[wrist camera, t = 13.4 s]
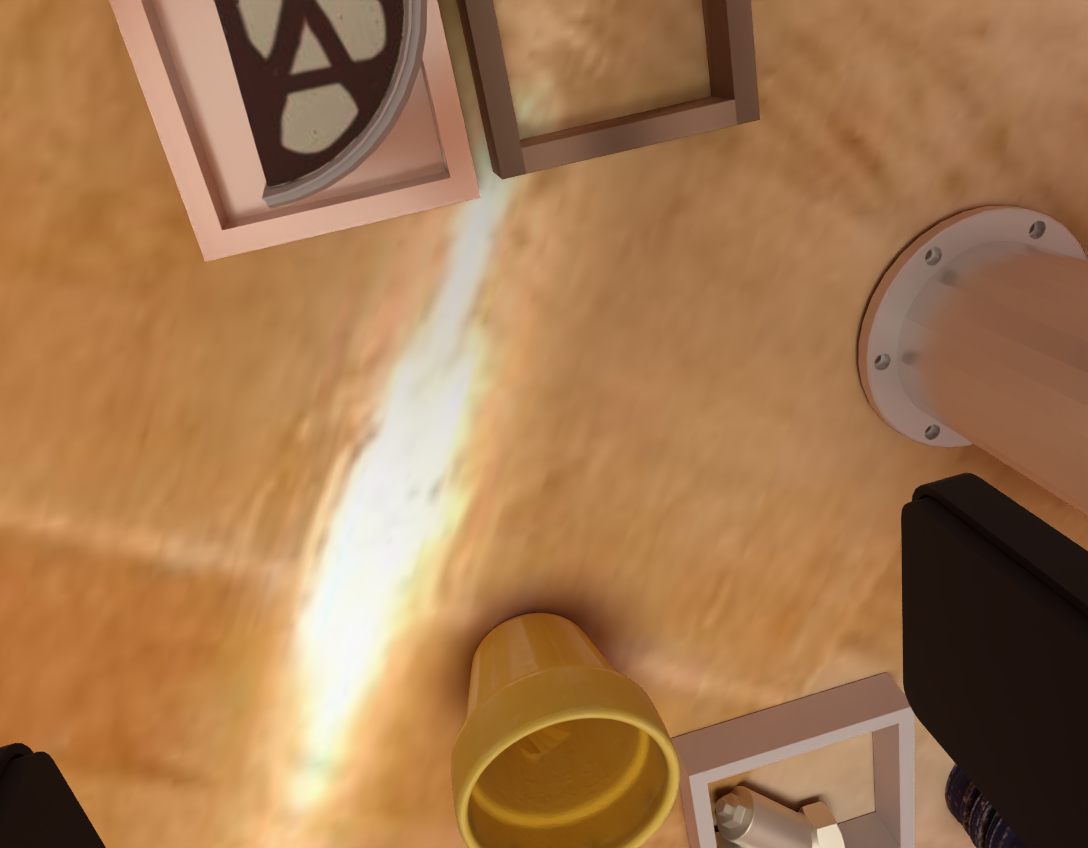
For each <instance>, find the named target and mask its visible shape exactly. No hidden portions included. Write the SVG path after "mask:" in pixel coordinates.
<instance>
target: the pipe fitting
mask: <svg viewBox="0 0 1088 848" xmlns="http://www.w3.org/2000/svg"><path fill="white" fill-rule="evenodd" d="M715 809H716V815H717V827H718V830H719V832H716V833H715V838H716V845H717V848H845V845H844V840H843V837H842V834H841V831H840V829H839V826H838V824H837V822H836V820H835V818H834V816H833V814H832V813H831V811H830V810H829V808H828V807H827V806H826V805H825V804H824V803H823V802H822V801H820V802H816V803H813V804H810V805H806V806H803V807H802V808H800V809H799V811H798V812H795V811H793V810H791V809H789V808H787V807H785V806H783V805H781V804H779V803H777V802H775V801H773V800H771V799H769V798H767V797H764V796H762V795H760V794H758V793H756V792H754V791H752V790H750V789H748V788H746V787H744V786H735V787H734V788H733V789H732V790H731V791H730V792H729V793H728V794H727V795H725V796H723V797H721V799H719V800H718V801H717V803H716V806H715Z"/></svg>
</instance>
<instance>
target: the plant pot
mask: <svg viewBox="0 0 1088 848" xmlns="http://www.w3.org/2000/svg"><path fill="white" fill-rule="evenodd" d="M451 778H452V790H453V799H454V807H455V814H456V820H457V824H458V828H459V831H460V834H461V836H462V838H463V840H464V842H465V844H466V845H467V847H468V848H639V847H640V846H641V845H643V844H644V843H645V842H646V841H647V840H648V839H649V838H650V837H651V836H652V835H653V834H654V833H655V832H656V831H657V830H658V829H659V827H660V826H661V825H662V823H663V822H664V820H665V819H666V817H667V816H668V814H669V812H670V810H671V808H672V806H673V804H674V802H675V800H676V797H677V793H678V789H679V783H680V765H679V760H678V756H677V753H676V750H675V748H674V745H673V743H672V741H671V739H670V736H669V734H668V732H667V730H666V728H665V725H664V723H663V721H662V719H661V718H660V716H659V714H658V712H657V710H656V708H655V706H654V705H653V703H652V701H651V700H650V698H649V697H648V695H647V694H646V693H645V691H644V690H643V689H642V688H641V687H640V686H639V685H637V684H636V683H635V682H634V681H632V680H631V679H629V678H628V677H626V676H624V675H622V674H620V673H618V672H616V671H615V670H614V669H613V668H612V666H611V665H610V664H609V663H608V662H607V660H606V659H605V658H604V657H603V655H602V654H601V653H600V652H599V650H598V649H597V648H596V647H595V645H594V644H593V643H592V642H591V640H590V639H589V638H588V637H587V635H586V634H585V633H584V632H583V631H582V630H581V629H580V628H579V627H578V626H577V625H576V624H574V623H573V622H572V621H570V620H568V619H566V618H564V617H561V616H558V615H554V614H549V613H530V614H524V615H520V616H517V617H514V618H512V619H509V620H507V621H505V622H503V623H501V624H500V625H498V626H497V627H495V628H494V629H493V630H492V631H491V632H490V633H488V634H487V636H486V637H485V638H484V639H483V640H482V642H481V643H480V645H479V646H478V648H477V650H476V652H475V654H474V657H473V662H472V668H471V678H470V688H469V696H468V706H467V714H466V721H465V723H464V724H463V726H462V727H461V729H460V731H459V733H458V735H457V738H456V740H455V743H454V746H453V750H452V756H451Z"/></svg>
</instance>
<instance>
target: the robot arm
mask: <svg viewBox="0 0 1088 848" xmlns="http://www.w3.org/2000/svg"><path fill="white" fill-rule="evenodd" d="M858 366H859V372H860V377H861V382H862V387H863V389H864V391H865V394H866V396H867V398H868V401H869V403H870V405H871V406H872V407H873V409H874V410H875V411H876V413H877V414H878V415H879V417H880V418H881V419H882V420H883V421H885V422H886V423H887V424H888V425H890V426H891V427H892V428H893V429H894V430H896V431H898V432H899V433H901V434H902V435H904V436H906V437H907V438H909V439H910V440H912V441H915V442H918V443H920V444H923V445H927V446H933V447H943V448H953V447H963V446H970V445H973V444H975V445H976V446H978V447H979V448H981V449H982V450H984V451H986V452H987V453H989V454H990V455H992V456H994V457H995V458H997V459H998V460H1000V461H1001V462H1003V463H1005V464H1006V465H1008V466H1009V467H1011V468H1012V469H1014V470H1016V471H1017V472H1019V473H1020V474H1022V475H1023V476H1025V477H1027V478H1028V479H1030V480H1031V481H1033V482H1034V483H1036V484H1038V485H1039V486H1041V487H1042V488H1044V489H1045V490H1047V491H1049V492H1050V493H1052V494H1053V495H1055V496H1057V497H1058V498H1060V499H1061V500H1063V501H1064V502H1066V503H1068V504H1069V505H1071V506H1072V507H1074V508H1075V509H1077V510H1079V511H1080V512H1082V513H1083V514H1085V515H1086V516H1088V259H1087V256H1086V254H1085V253H1084V251H1083V249H1082V247H1081V245H1080V243H1079V241H1078V240H1077V239H1076V238H1075V236H1074V235H1073V234H1072V233H1071V232H1070V231H1069V230H1068V229H1067V228H1066V226H1064V225H1063V224H1061V223H1059V222H1058V221H1056V220H1055V219H1053V218H1052V217H1050V216H1048V215H1045V214H1042V213H1039V212H1036V211H1033V210H1030V209H1025V208H1019V207H1014V206H1009V205H1003V206H984V207H980V208H976V209H972V210H968V211H964V212H962V213H960V214H957V215H955V216H953V217H951V218H949V219H946V220H944V221H942V222H940V223H939V224H937V225H936V226H934V227H933V228H931V229H930V230H928V231H927V232H925V233H924V234H923V235H921V236H920V237H919V238H917V239H916V240H915V241H914V242H913V243H912V244H911V245H910V246H909V247H908V248H907V249H906V250H905V251H904V252H903V253H902V254H901V255H900V256H899V257H898V258H897V260H896V261H895V262H894V263H893V265H892V266H891V267H890V269H889V270H888V271H887V272H886V274H885V275H884V277H883V278H882V280H881V282H880V284H879V286H878V287H877V289H876V291H875V293H874V294H873V296H872V298H871V301H870V304H869V306H868V309H867V312H866V314H865V317H864V320H863V324H862V329H861V334H860V339H859V356H858ZM901 532H902V617H903V685H904V691H905V695H906V698H907V700H908V703H909V705H910V707H911V709H912V711H913V712H914V714H915V715H916V717H917V718H918V719H919V720H920V722H921V723H922V724H923V725H924V726H925V728H926V729H927V730H928V731H929V732H930V733H931V735H932V736H933V737H934V738H935V739H936V741H937V742H938V743H939V744H940V745H941V746H942V748H943V749H944V750H945V751H946V752H947V754H948V755H949V756H950V757H951V758H952V759H953V761H954V762H955V763H956V764H957V765H958V767H959V768H960V769H961V770H962V771H963V773H964V774H965V775H966V776H967V777H968V778H969V780H970V781H971V782H972V783H973V784H974V786H975V787H976V788H977V789H978V790H979V791H980V793H981V794H982V795H983V796H984V797H985V799H986V800H987V801H988V802H989V803H990V804H991V806H992V807H993V808H994V809H995V810H996V812H997V813H998V814H999V815H1000V816H1001V817H1002V819H1003V820H1004V821H1005V822H1006V823H1007V825H1008V826H1009V827H1010V828H1011V829H1012V830H1013V832H1014V833H1015V834H1016V835H1017V836H1018V838H1019V839H1020V840H1021V841H1022V842H1023V844H1024V845H1025V846H1026V847H1027V848H1088V551H1086V550H1085V549H1083V548H1082V547H1081V546H1079V545H1078V544H1076V543H1075V542H1073V541H1072V540H1070V539H1069V538H1067V537H1066V536H1064V535H1063V534H1061V533H1060V532H1059V531H1057V530H1056V529H1054V528H1053V527H1051V526H1050V525H1048V524H1047V523H1045V522H1044V521H1042V520H1041V519H1039V518H1038V517H1037V516H1035V515H1034V514H1032V513H1031V512H1029V511H1028V510H1026V509H1025V508H1023V507H1022V506H1020V505H1019V504H1018V503H1016V502H1015V501H1013V500H1012V499H1010V498H1009V497H1007V496H1006V495H1004V494H1003V493H1001V492H1000V491H998V490H997V489H996V488H994V487H993V486H991V485H990V484H988V483H987V482H985V481H984V480H982V479H981V478H979V477H978V476H976V475H973V474H971V473H963V474H960V475H956V476H953V477H949V478H946V479H942V480H938V481H935V482H931V483H928V484H924V485H921V486H919V487H918V488H916V489H915V491H914V494H913V496H912V502H909V503H907V504H905V505H904V507H903V509H902V515H901ZM0 848H106V847H105V846H104V844H103V842H102V841H101V839H100V837H99V836H98V834H97V832H96V831H95V829H94V827H93V826H92V824H91V822H90V821H89V819H88V817H87V816H86V814H85V812H84V811H83V809H82V807H81V805H80V804H79V802H78V800H77V799H76V797H75V795H74V794H73V792H72V790H71V789H70V787H69V785H68V784H67V782H66V780H65V779H64V777H63V775H62V774H61V772H60V770H59V769H58V767H57V765H56V764H55V762H54V760H53V759H52V758H51V757H50V755H49V754H47V753H45V752H36V753H33V752H32V750H31V749H30V748H29V747H28V746H26V745H24V744H22V743H14V744H10V745H7V746H3V747H0Z"/></svg>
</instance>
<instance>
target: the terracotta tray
mask: <svg viewBox="0 0 1088 848" xmlns="http://www.w3.org/2000/svg"><path fill="white" fill-rule="evenodd" d="M109 1H110V4H111V7H112V9H113V12H114V15H115V18H116V20H117V23H118V26H119V29H120V31H121V34H122V37H123V39H124V42H125V45H126V48H127V50H128V53H129V56H130V58H131V61H132V64H133V67H134V69H135V72H136V75H137V77H138V80H139V83H140V86H141V88H142V91H143V94H144V96H145V99H146V102H147V105H148V107H149V110H150V113H151V116H152V118H153V121H154V124H155V126H156V129H157V132H158V135H159V137H160V140H161V143H162V145H163V148H164V151H165V154H166V156H167V159H168V162H169V164H170V167H171V170H172V173H173V175H174V178H175V181H176V183H177V186H178V189H179V192H180V194H181V197H182V200H183V202H184V205H185V208H186V211H187V213H188V216H189V219H190V222H191V224H192V227H193V230H194V232H195V235H196V238H197V241H198V243H199V246H200V249H201V251H202V254H203V257H204V260H205V262H206V261H211V260H215V259H219V258H223V257H228V256H232V255H236V254H241V253H245V252H249V251H253V250H258V249H262V248H266V247H271V246H275V245H279V244H283V243H288V242H292V241H296V240H301V239H305V238H309V237H313V236H318V235H322V234H326V233H331V232H335V231H339V230H343V229H348V228H352V227H356V226H361V225H365V224H369V223H373V222H378V221H382V220H386V219H391V218H395V217H399V216H403V215H408V214H412V213H416V212H421V211H425V210H429V209H433V208H438V207H442V206H446V205H451V204H455V203H459V202H463V201H468V200H472V199H476V198H481V197H480V193H479V188H478V183H477V179H476V174H475V170H474V165H473V161H472V156H471V151H470V147H469V142H468V138H467V133H466V129H465V124H464V120H463V115H462V110H461V106H460V101H459V97H458V92H457V88H456V83H455V78H454V74H453V69H452V65H451V60H450V56H449V51H448V47H447V42H446V37H445V33H444V28H443V24H442V19H441V15H440V10H439V5H438V1H437V0H427V32H426V38H425V44H424V50H423V55H422V61H421V66H420V69H419V72H418V75H417V78H416V81H415V84H414V87H413V90H412V93H411V96H410V98H409V100H408V102H407V104H406V106H405V107H404V109H403V111H402V113H401V115H400V117H399V119H398V121H397V123H396V125H395V126H394V127H393V129H392V130H391V131H390V133H389V134H388V135H387V137H386V138H385V139H384V140H383V142H382V143H381V144H380V146H379V147H378V148H377V150H376V151H375V152H373V153H372V154H371V155H370V156H369V157H368V158H367V159H366V160H365V161H364V162H363V163H362V164H361V165H360V166H359V167H358V168H357V169H356V170H354V171H353V172H351V173H350V174H349V175H347V176H346V177H344V178H343V179H341V180H340V181H338V182H337V183H335V184H334V185H332V186H331V187H329V188H327V189H325V190H323V191H320V192H318V193H316V194H314V195H312V196H309V197H307V198H305V199H303V200H300V201H297V202H293V203H290V204H286V205H283V206H279V207H275V208H272V207H268V206H267V204H266V200H265V201H263V200H262V196H263V192H264V188H265V183H266V179H265V176H264V173H263V169H262V166H261V162H260V159H259V156H258V152H257V149H256V145H255V142H254V138H253V135H252V131H251V128H250V124H249V121H248V117H247V113H246V110H245V106H244V103H243V99H242V96H241V92H240V89H239V85H238V81H237V78H236V74H235V71H234V67H233V63H232V60H231V56H230V53H229V49H228V45H227V42H226V39H225V35H224V32H223V28H222V25H221V22H220V18H219V15H218V12H217V8H216V5H215V2H214V0H109Z"/></svg>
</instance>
